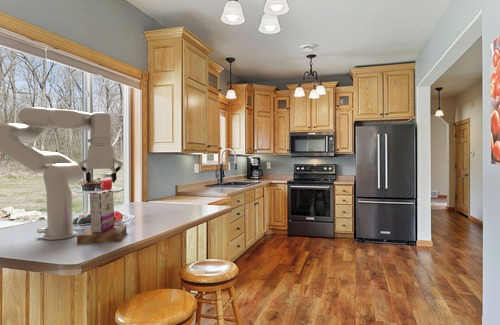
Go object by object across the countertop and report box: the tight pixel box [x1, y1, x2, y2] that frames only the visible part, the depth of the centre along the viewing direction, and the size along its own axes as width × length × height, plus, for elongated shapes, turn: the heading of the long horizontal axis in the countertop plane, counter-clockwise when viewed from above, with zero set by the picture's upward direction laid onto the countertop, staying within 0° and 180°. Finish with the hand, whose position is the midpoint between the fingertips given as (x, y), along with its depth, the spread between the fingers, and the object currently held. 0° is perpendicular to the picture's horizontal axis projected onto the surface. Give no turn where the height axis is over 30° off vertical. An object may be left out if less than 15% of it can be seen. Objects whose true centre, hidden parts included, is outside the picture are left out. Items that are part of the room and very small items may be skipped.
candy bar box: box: [89, 189, 116, 233], centre depth 141 cm, size 11×5×16 cm, turn 176°
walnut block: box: [76, 225, 127, 245], centre depth 141 cm, size 16×16×4 cm
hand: (101, 182), depth 141 cm, fingers open, 9 cm apart
